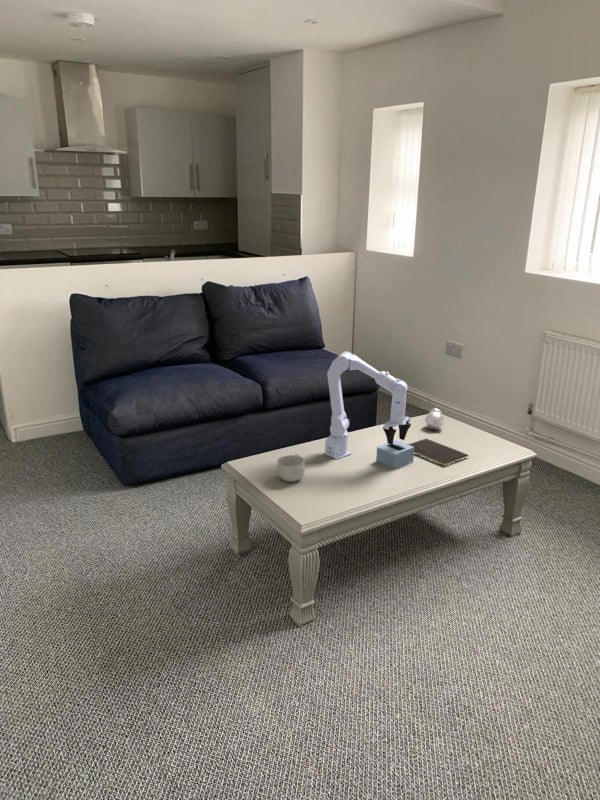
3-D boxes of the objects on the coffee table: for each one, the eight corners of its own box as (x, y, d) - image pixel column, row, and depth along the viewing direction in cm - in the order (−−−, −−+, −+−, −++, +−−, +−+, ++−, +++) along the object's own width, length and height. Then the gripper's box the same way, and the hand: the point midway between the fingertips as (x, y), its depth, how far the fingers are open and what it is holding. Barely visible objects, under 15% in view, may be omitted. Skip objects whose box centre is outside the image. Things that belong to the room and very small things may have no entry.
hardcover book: (444, 468, 262) (444, 463, 261) (402, 450, 279) (402, 446, 278) (468, 459, 272) (468, 454, 271) (426, 442, 289) (427, 438, 288)
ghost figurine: (447, 428, 305) (449, 408, 302) (437, 433, 298) (439, 413, 295) (431, 424, 311) (432, 404, 308) (420, 428, 304) (422, 409, 301)
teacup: (295, 487, 242) (296, 467, 239) (271, 480, 247) (271, 461, 244) (313, 473, 253) (313, 455, 251) (289, 468, 258) (289, 449, 256)
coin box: (394, 468, 259) (395, 454, 257) (376, 461, 266) (377, 446, 264) (413, 461, 267) (414, 446, 265) (394, 454, 274) (395, 440, 272)
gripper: (394, 416, 252) (392, 448, 256) (417, 409, 261) (414, 440, 266) (380, 412, 257) (378, 443, 261) (403, 405, 266) (401, 435, 271)
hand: (396, 441), depth 264 cm, fingers open, 7 cm apart
